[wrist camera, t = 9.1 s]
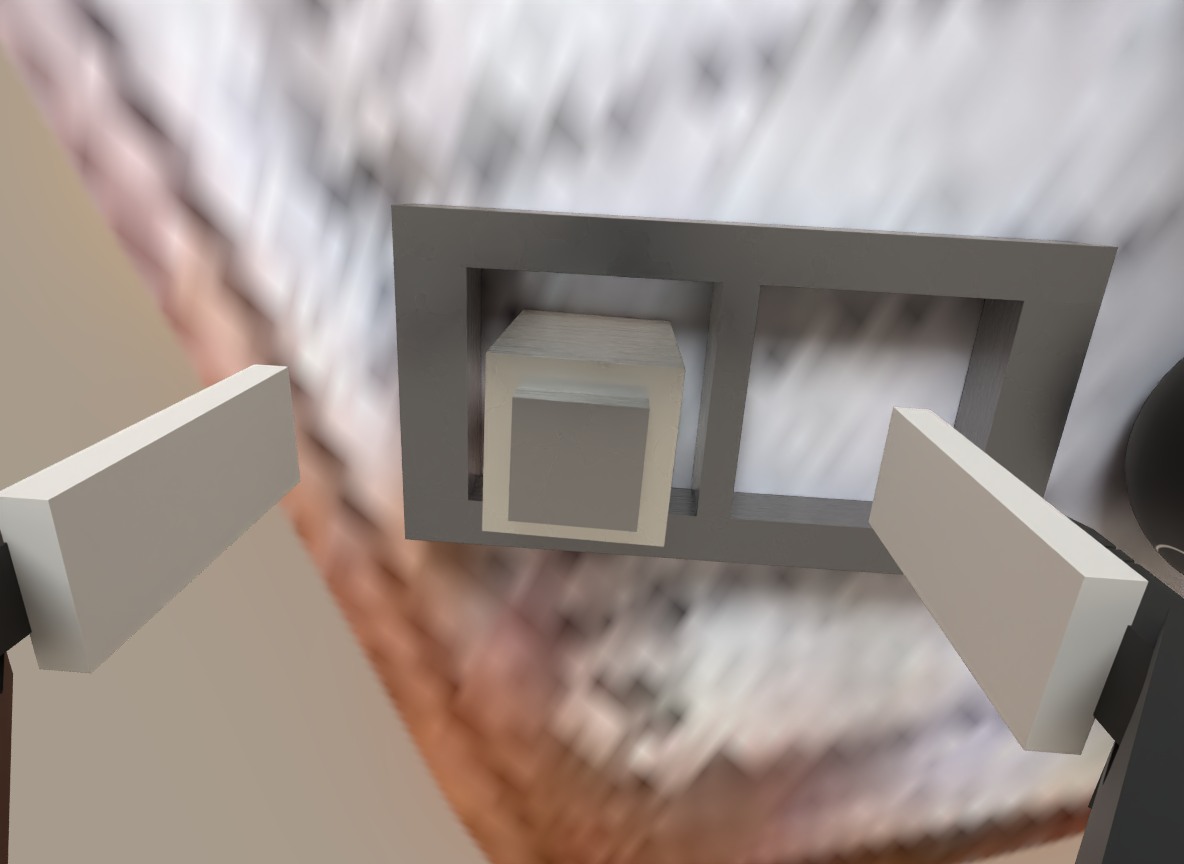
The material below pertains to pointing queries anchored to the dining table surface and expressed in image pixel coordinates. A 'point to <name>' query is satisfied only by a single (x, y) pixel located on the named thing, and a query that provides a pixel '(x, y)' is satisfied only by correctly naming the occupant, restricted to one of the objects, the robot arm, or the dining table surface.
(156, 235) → the dining table surface
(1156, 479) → the mug
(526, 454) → the beige square peg
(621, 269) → the grey window frame
